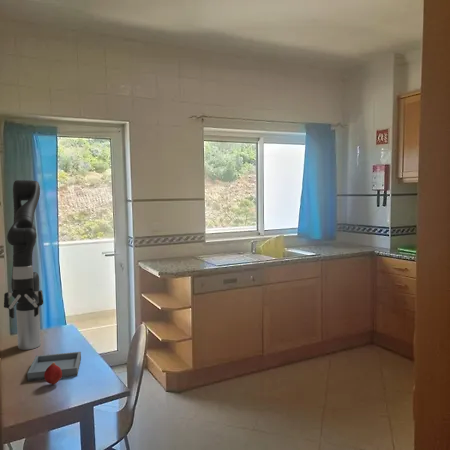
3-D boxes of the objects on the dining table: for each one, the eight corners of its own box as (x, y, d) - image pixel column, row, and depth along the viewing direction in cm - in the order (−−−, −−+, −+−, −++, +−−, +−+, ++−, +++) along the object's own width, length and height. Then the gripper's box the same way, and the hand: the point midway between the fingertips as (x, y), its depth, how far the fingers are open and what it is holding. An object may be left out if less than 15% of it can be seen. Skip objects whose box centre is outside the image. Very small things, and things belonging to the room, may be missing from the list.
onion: (45, 389, 144) (44, 367, 144) (44, 383, 150) (43, 361, 149) (63, 386, 147) (62, 363, 147) (61, 379, 152) (60, 358, 152)
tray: (36, 363, 168) (36, 355, 167) (81, 358, 172) (80, 351, 172) (27, 381, 151) (27, 373, 151) (77, 375, 155) (77, 367, 155)
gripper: (43, 275, 175) (44, 313, 175) (6, 277, 172) (7, 316, 172) (40, 277, 168) (41, 317, 168) (1, 279, 164) (2, 320, 164)
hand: (24, 317), depth 170 cm, fingers open, 8 cm apart
